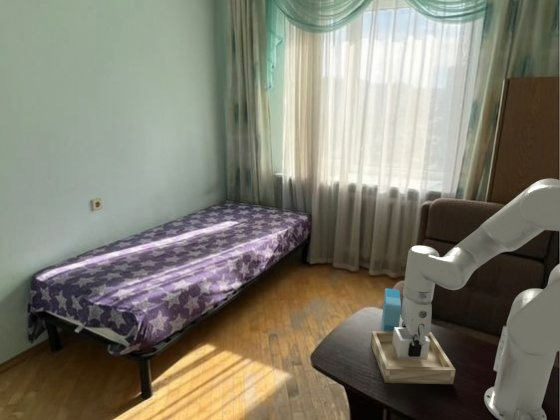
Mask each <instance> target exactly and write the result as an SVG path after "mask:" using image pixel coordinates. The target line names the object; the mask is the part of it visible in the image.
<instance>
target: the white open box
mask: <svg viewBox="0 0 560 420" xmlns="http://www.w3.org/2000/svg"><path fill="white" fill-rule="evenodd" d="M416 333H418V331H417V332H416ZM425 339H426V344H424V345H423V346H422V348H421V355H420V357H409V356H408V350H409V344H410V343H411V334H410V333H409V331H408V329H407V328H406V327H402V326H401V327H400V326H399V327H394V332H393V340H392V346H393V348H394V351H395V353H396V355H397V358H398V359H416V360H427V358H428V352H429V346H430V340H429V338H428V337H427V336H425ZM415 340H419V336H415Z"/></svg>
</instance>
